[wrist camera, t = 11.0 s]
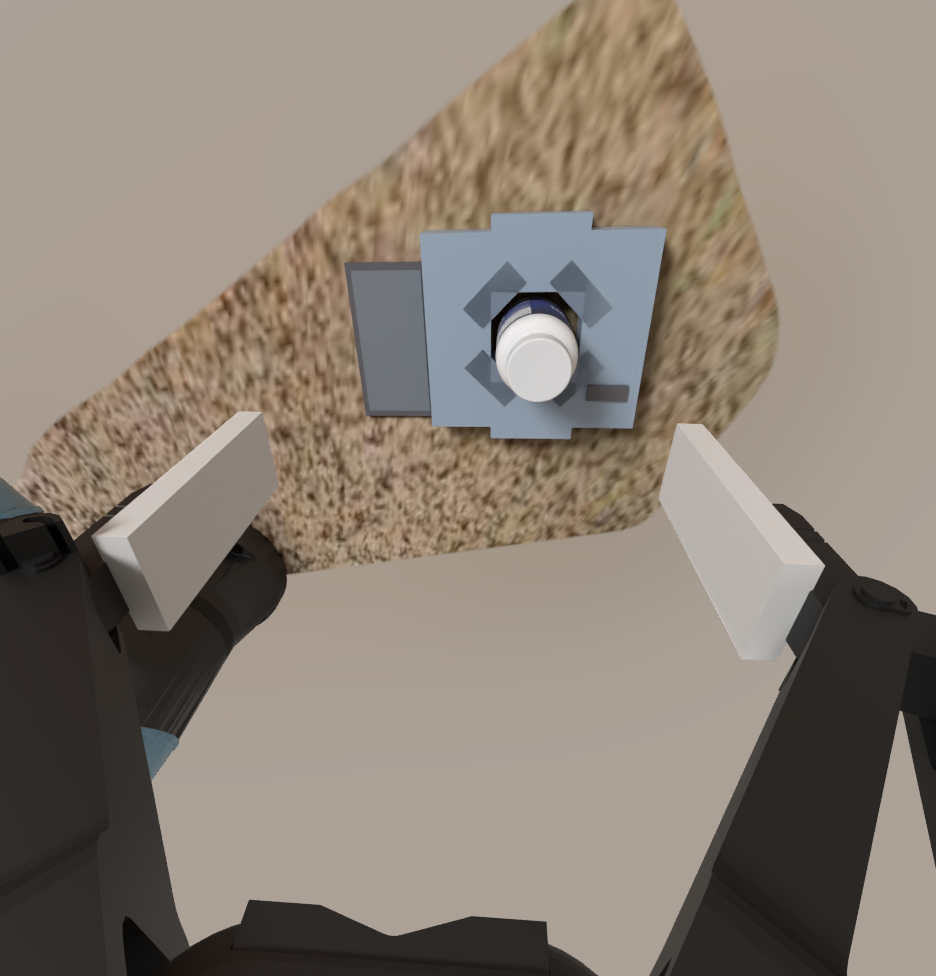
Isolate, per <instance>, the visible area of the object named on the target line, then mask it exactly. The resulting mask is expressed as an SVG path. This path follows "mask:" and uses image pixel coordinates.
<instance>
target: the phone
mask: <svg viewBox="0 0 936 976" xmlns="http://www.w3.org/2000/svg"><path fill="white" fill-rule="evenodd" d="M344 264H345V271H346V278H347V285H348V292H349V299H350V306H351V313H352V320H353V327H354V334H355V341H356V348H357V355H358V362H359V369H360V376H361V383H362V390H363V397H364V403H365V410H366V416H432V413H431V398H430V383H429V368H428V353H427V338H426V322H425V307H424V292H423V277H422V262H421V261H419V262H356V263H344Z"/></svg>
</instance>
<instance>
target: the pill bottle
mask: <svg viewBox="0 0 936 976" xmlns="http://www.w3.org/2000/svg"><path fill="white" fill-rule="evenodd" d="M577 361H578V346H577V342H576V339H575V336H574V334H573V332H572V329H571V327H570V325H569V323H568V321H567V318H566V316H565V314H564V313H563V311H562V310H561V309H560V308H559V307H558V306H557V305H556V304H555V303H554V302H552V301H551V300H549V299H546V298H543V297H536V296H533V297H526V298H523V299H521V300H519V301H517V302H515V303H514V304H512V305H511V306H510V307H509V308H508V309H507V310H506V312H505V313H504V314H503V316H502V318H501V320H500V323H499V327H498V333H497V343H496V365H497V369H498V372H499V374H500V376H501V378H502V380H503V381H504V382H505V384H506V385H507V386H508V387H510V388H511V389H512V390H513V391H514V392H515V393H516V394H517V395H518V396H519V397H521V398H522V399H525V400H527V401H531V402H544V401H548V400H551V399H553V398H555V397H556V396H558V395H559V394H560V393H561V392H562V391H563V390H564V389H565V388H566V386H567V385H568V383H569V381H570V378H571V376H572V375H573V373H574V371H575V368H576V365H577Z"/></svg>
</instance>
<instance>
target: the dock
mask: <svg viewBox="0 0 936 976" xmlns="http://www.w3.org/2000/svg"><path fill="white" fill-rule="evenodd" d="M592 220H593V212H591V211H549V212H504V213H492V214H491V229H473V230H425V231H423V232H421V233H420V247H421V262H422V277H423V292H424V307H425V322H426V338H427V353H428V368H429V383H430V398H431V413H432V426H447V427H491V438H524V439H571V431H572V428H633V422H634V417H635V411H636V405H637V399H638V393H639V388H640V382H641V376H642V370H643V364H644V358H645V353H646V347H647V341H648V335H649V329H650V323H651V318H652V312H653V306H654V300H655V294H656V288H657V283H658V277H659V271H660V265H661V259H662V253H663V248H664V242H665V236H666V230H667V229H666V228H663V227H659V226H627V227H592ZM518 292H558V293H559V294H560V296H561V297H562V298H563V299H564V300H565V301H566V302H567V303H568V305H569V306H570V307H571V308H572V309H573V310H574V311H575V312H576V314H577V315H578V321H577V331H576V342H577V346H578V361H577V365H576V368H575V371H574V373H573V375H572V376H571V378H570V381H569V383H568V385H567V386H566V388H565V389H564V390H563V391H562V392H561V393H560V394H559V395H558V396H556V397H555V398H553V399H551V400H548V401H544V402H531V401H527V400H525V399H522V398H521V397H519V396H518V395H517V394H516V393H515V392H514V391H513V390H512V389H511V388H510V387H508V386H507V385H506V384H505V382H504V381H503V380H502V378H501V376H500V374H499V372H498V369H497V365H496V352H495V351H494V350H493V349H492V319H493V318H494V317H495V316H496V315H497V314H498V313H499V312H500V311H501V310H502V309H503V308H504V307H505V306H506V305H507V304H508V303H509V302H510V300H511V299H512V298H513V297H514V296H515V295H516V294H517V293H518Z"/></svg>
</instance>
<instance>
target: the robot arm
mask: <svg viewBox="0 0 936 976" xmlns="http://www.w3.org/2000/svg"><path fill="white" fill-rule="evenodd" d="M278 486H279V483H278V479H277V474H276V470H275V466H274V461H273V457H272V453H271V448H270V444H269V440H268V435H267V431H266V427H265V423H264V418H263V414H262V412H241V411H239V412H238V413H236V414H235V415H234V416H233V417H232V418H230V419H229V420H228V421H227V422H226V423H225V424H223V425H222V426H221V427H220V428H219V429H217V430H216V431H215V432H214V433H213V434H211V435H210V436H209V437H208V438H207V439H206V440H204V441H203V442H202V443H201V444H200V445H198V446H197V447H196V448H195V449H194V450H193V451H191V452H190V453H189V454H188V455H187V456H185V457H184V458H183V459H182V460H181V461H179V462H178V463H177V464H176V465H175V466H174V467H172V468H171V469H170V470H169V471H168V472H166V473H165V474H164V475H163V476H162V477H161V478H159V479H158V480H157V481H156V482H155V483H153V484H152V483H151V484H149V485H147V486H145V487H143V488H141V489H139V490H137V491H135V492H133V493H131V494H130V495H129V496H128V497H126V498H125V499H124V500H123V501H122V502H120V503H119V504H118V507H114V508H113V509H112V510H111V511H109V512H108V513H107V514H106V517H105V516H103V517H102V518H101V519H100V520H98V521H97V522H96V523H95V524H93V525H92V526H91V527H90V528H89V529H87V530H86V531H85V532H84V533H83V534H81V535H80V536H79V537H78V538H76V539H75V540H74V541H73V539H72V537H71V535H70V533H69V531H68V529H67V528H66V526H65V524H64V522H63V520H62V519H61V517H60V516H59V515H56V514H52V513H43V512H44V510H43V509H42V508H41V507H39V506H34V505H33V504H32V503H31V502H30V501H28V500H27V499H26V498H25V497H23V496H22V495H21V494H20V493H19V492H17V491H16V490H15V489H14V488H13V487H12V486H10V485H9V484H8V483H7V482H6V481H5V480H3V479H2V478H1V477H0V976H598V975H596V974H595V973H594V972H593V971H591V970H590V969H589V968H588V967H587V966H585V965H584V964H583V963H582V962H580V961H578V960H577V959H575V958H574V957H572V956H571V955H569V954H567V953H566V952H564V951H562V950H561V949H558V948H556V947H554V946H551V945H549V944H548V941H547V925H546V924H547V923H546V922H543V921H529V920H515V919H501V918H488V917H475V916H471V917H467V918H464V919H460V920H456V921H452V922H448V923H445V924H441V925H437V926H433V927H430V928H426V929H422V930H419V931H415V932H411V933H407V934H403V935H399V936H389V935H386V934H383V933H381V932H379V931H376V930H374V929H372V928H370V927H368V926H365V925H363V924H361V923H359V922H356V921H354V920H352V919H350V918H347V917H346V916H343V915H341V914H339V913H337V912H335V911H332V910H330V909H328V908H326V907H324V906H321V905H312V904H300V903H285V902H272V901H259V900H249V902H248V904H247V907H246V910H245V913H244V916H243V918H242V921H241V924H238V925H235V926H231V927H229V928H227V929H224V930H222V931H219V932H217V933H214V934H212V935H210V936H209V937H207V938H205V939H203V940H201V941H200V942H198V943H196V944H194V945H192V946H191V947H189V944H188V941H187V938H186V936H185V933H184V931H183V928H182V926H181V923H180V921H179V918H178V915H177V911H176V907H175V903H174V898H173V893H172V888H171V883H170V877H169V872H168V867H167V861H166V856H165V852H164V846H163V841H162V835H161V830H160V825H159V820H158V815H157V809H156V804H155V799H154V793H153V788H152V783H151V781H152V779H153V778H154V776H155V775H156V774H157V772H158V771H159V769H160V768H161V767H162V765H163V764H164V762H165V761H166V759H167V758H168V756H169V755H170V754H171V752H172V751H173V750H175V748H176V747H177V746H178V743H179V739H180V737H181V735H182V733H183V731H184V730H185V728H186V727H187V725H188V723H189V721H190V720H191V718H192V716H193V715H194V713H195V711H196V710H197V708H198V706H199V704H200V703H201V701H202V699H203V698H204V696H205V694H206V693H207V691H208V689H209V688H210V686H211V684H212V682H213V681H214V679H215V677H216V676H217V674H218V672H219V670H220V669H221V667H222V665H223V664H224V662H225V660H226V659H227V657H228V655H229V654H230V652H231V650H232V649H233V647H234V646H235V645H236V644H237V643H238V642H240V641H241V640H242V639H243V638H244V637H245V636H246V635H247V634H248V633H249V632H250V631H252V630H253V629H254V628H255V627H256V626H257V625H259V624H261V623H262V622H263V621H265V620H266V619H267V618H268V617H269V616H270V615H271V614H272V613H273V612H274V610H275V609H276V607H277V605H278V603H279V602H280V599H281V598H282V596H283V594H284V592H285V589H286V583H287V576H286V571H285V567H284V564H283V562H282V560H281V558H280V556H279V554H278V553H277V551H276V550H275V549H274V547H273V546H272V545H271V544H270V543H269V542H268V541H267V540H266V539H265V538H264V537H263V536H262V535H261V534H260V533H258V532H257V531H256V530H254V529H253V528H251V527H250V526H249V525H250V523H251V522H252V521H253V519H254V518H255V517H256V515H257V514H258V513H259V511H260V510H261V509H262V507H263V506H264V505H265V503H266V502H267V501H268V499H269V498H270V497H271V495H272V494H273V493H274V491H275V490H276V489H277V487H278ZM658 499H659V501H660V503H661V504H662V506H663V508H664V510H665V512H666V514H667V516H668V518H669V520H670V522H671V524H672V526H673V528H674V530H675V532H676V533H677V536H678V537H679V539H680V541H681V543H682V545H683V547H684V549H685V551H686V553H687V555H688V557H689V559H690V561H691V562H692V565H693V567H694V568H695V570H696V572H697V574H698V576H699V578H700V580H701V582H702V584H703V586H704V588H705V590H706V592H707V594H708V596H709V598H710V599H711V601H712V603H713V605H714V607H715V609H716V611H717V613H718V615H719V617H720V619H721V621H722V623H723V625H724V627H725V628H726V631H727V632H728V634H729V636H730V638H731V640H732V642H733V644H734V646H735V648H736V650H737V652H738V654H739V656H740V658H741V659H744V660H766V661H777V659H778V657H779V655H780V654H781V652H782V649H783V648H784V646H785V644H786V642H787V643H788V645H789V646H790V648H791V649H792V651H793V652H794V654H795V656H796V659H795V660H794V662H793V664H792V666H791V668H790V670H789V672H788V673H787V675H786V677H785V679H784V681H783V683H782V685H781V686H780V688H779V691H780V692H779V694H778V697H777V699H776V701H775V703H774V705H773V708H772V710H771V712H770V714H769V717H768V719H767V721H766V723H765V725H764V728H763V730H762V732H761V734H760V736H759V738H758V741H757V743H756V745H755V747H754V749H753V752H752V754H751V756H750V758H749V760H748V763H747V765H746V767H745V769H744V771H743V774H742V776H741V778H740V780H739V782H738V785H737V787H736V789H735V791H734V793H733V796H732V798H731V800H730V802H729V805H728V807H727V809H726V811H725V813H724V816H723V818H722V820H721V822H720V825H719V827H718V829H717V831H716V833H715V835H714V837H713V840H712V842H711V845H710V846H709V849H708V851H707V853H706V855H705V857H704V860H703V862H702V864H701V866H700V868H699V871H698V873H697V875H696V877H695V879H694V882H693V884H692V886H691V888H690V890H689V893H688V895H687V897H686V899H685V901H684V904H683V906H682V908H681V910H680V913H679V915H678V917H677V919H676V921H675V923H674V926H673V928H672V930H671V932H670V934H669V937H668V939H667V941H666V943H665V945H664V948H663V950H662V952H661V954H660V956H659V958H658V960H657V962H656V964H655V966H654V968H653V969H652V972H651V973H650V975H649V976H847V966H848V958H849V954H850V949H851V944H852V939H853V934H854V930H855V925H856V920H857V915H858V909H859V905H860V900H861V895H862V890H863V886H864V881H865V876H866V871H867V866H868V861H869V856H870V851H871V847H872V842H873V837H874V832H875V827H876V822H877V817H878V812H879V808H880V803H881V798H882V793H883V788H884V783H885V778H886V773H887V768H888V764H889V758H890V754H891V749H892V744H893V739H894V735H895V730H896V725H897V720H898V715H899V710H900V711H903V716H904V720H905V725H906V730H907V735H908V739H909V744H910V748H911V754H912V758H913V763H914V768H915V772H916V777H917V782H918V786H919V791H920V796H921V801H922V805H923V810H924V815H925V819H926V824H927V828H928V833H929V838H930V843H931V848H932V852H933V857H934V861H935V866H936V615H933V614H928V613H924V612H920V611H918V609H917V607H916V605H915V604H914V603H913V602H912V601H911V600H910V598H909V597H907V596H906V595H904V594H903V593H902V592H900V591H899V590H898V589H896V588H894V587H892V586H890V585H888V584H886V583H884V582H881V581H878V580H875V579H871V578H868V577H863V576H858V575H857V574H856V573H855V572H854V571H853V570H852V569H851V568H850V567H849V566H848V565H847V564H846V562H845V561H844V560H843V559H842V558H841V557H840V556H839V555H838V554H837V553H836V552H835V551H834V550H833V549H832V547H831V546H830V545H829V544H828V543H825V542H824V539H823V538H822V537H821V536H820V535H819V533H818V532H814V528H813V527H812V526H811V525H810V524H809V523H808V522H807V521H806V520H805V519H804V517H803V516H802V515H800V514H798V513H797V512H795V511H794V510H792V509H790V508H789V507H787V506H785V505H784V504H771V503H770V502H769V500H768V499H767V498H766V497H765V496H764V495H763V494H762V492H761V491H760V490H759V489H758V488H757V487H756V485H755V484H754V483H753V482H752V481H751V480H750V478H749V477H748V476H747V475H746V474H745V473H744V472H743V470H742V469H740V467H739V466H738V465H737V464H736V462H735V461H734V460H733V459H732V458H731V457H730V456H729V454H728V453H727V452H726V451H725V450H724V449H723V447H722V446H721V445H720V444H719V443H718V442H717V440H716V439H715V438H714V437H713V436H712V435H711V434H710V432H709V431H708V430H707V429H706V428H705V427H704V425H703V424H677V426H676V430H675V434H674V438H673V442H672V446H671V450H670V454H669V458H668V462H667V466H666V470H665V474H664V478H663V482H662V486H661V490H660V494H659V498H658Z"/></svg>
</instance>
